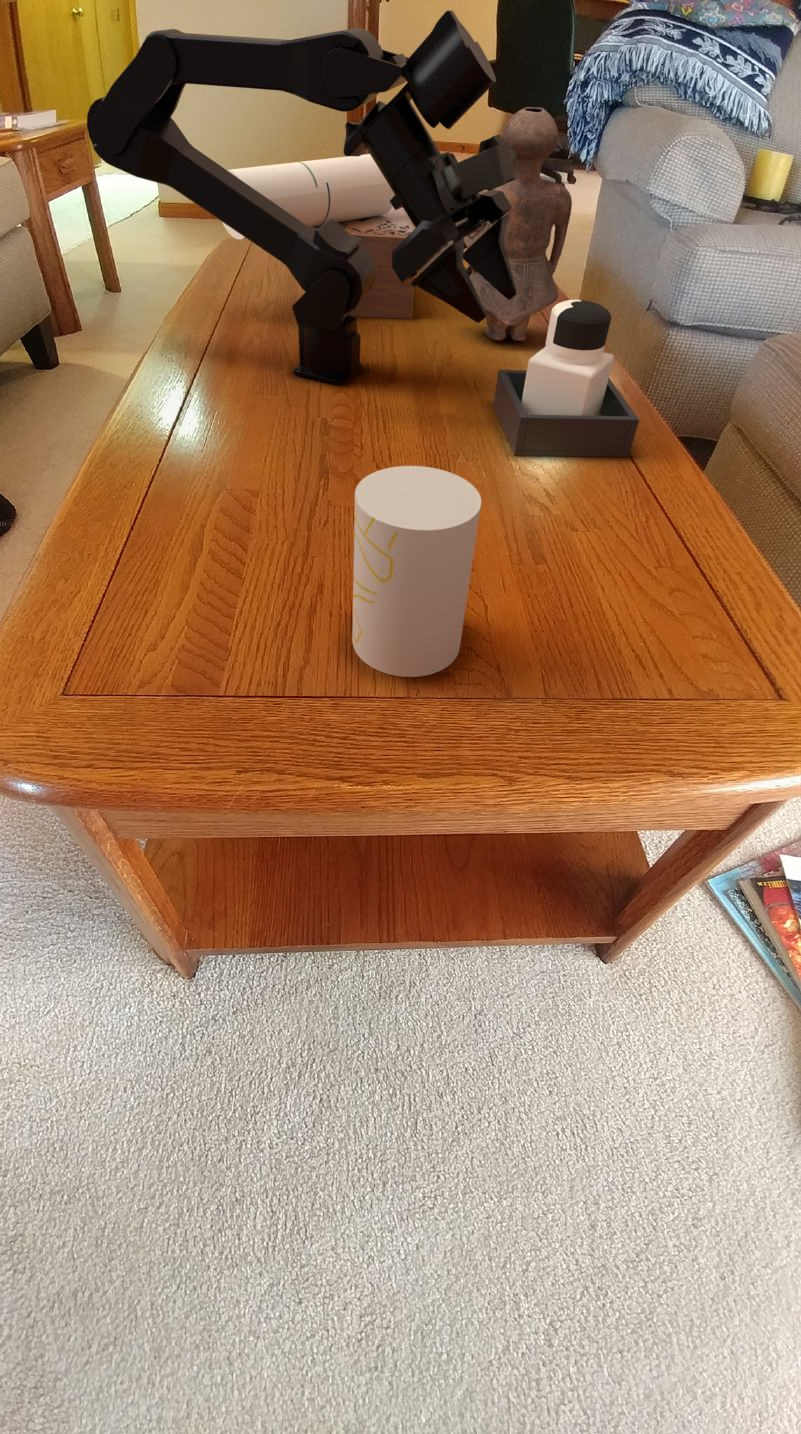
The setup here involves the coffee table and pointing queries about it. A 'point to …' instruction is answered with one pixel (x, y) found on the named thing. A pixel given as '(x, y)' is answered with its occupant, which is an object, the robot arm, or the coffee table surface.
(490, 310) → the clay figurine
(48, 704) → the coffee table surface
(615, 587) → the coffee table surface
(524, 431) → the holder
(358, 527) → the yellow-doodled white cylinder
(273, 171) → the cylindrical container
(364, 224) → the tissue box cover
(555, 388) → the medicine bottle
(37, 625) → the coffee table surface
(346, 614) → the coffee table surface
